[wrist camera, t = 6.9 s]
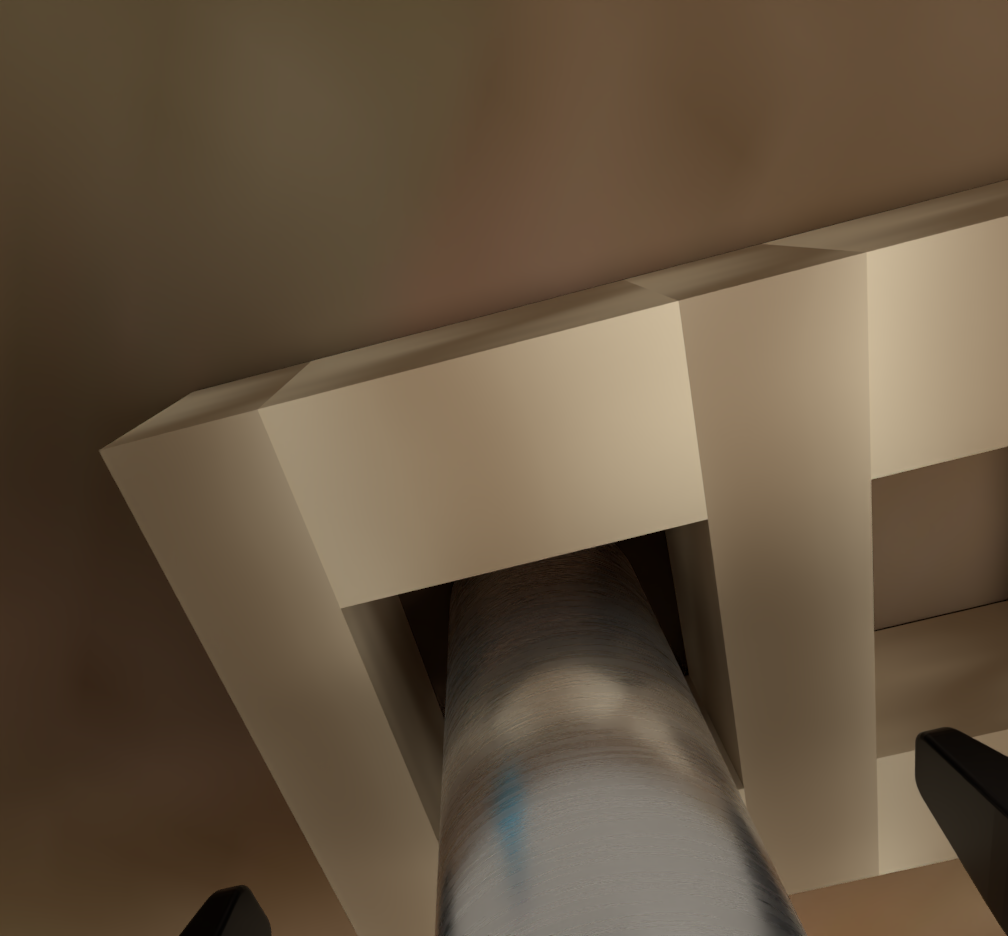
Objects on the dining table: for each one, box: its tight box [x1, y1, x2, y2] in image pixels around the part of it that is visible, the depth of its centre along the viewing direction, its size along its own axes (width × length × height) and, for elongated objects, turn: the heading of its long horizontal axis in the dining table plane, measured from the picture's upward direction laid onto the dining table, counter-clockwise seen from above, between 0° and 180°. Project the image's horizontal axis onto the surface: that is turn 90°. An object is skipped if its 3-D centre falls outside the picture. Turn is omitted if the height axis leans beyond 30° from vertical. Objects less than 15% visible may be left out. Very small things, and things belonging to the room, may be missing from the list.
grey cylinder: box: [435, 542, 807, 936], centre depth 9 cm, size 4×4×9 cm
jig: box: [99, 180, 1008, 936], centre depth 11 cm, size 18×12×3 cm, turn 104°
